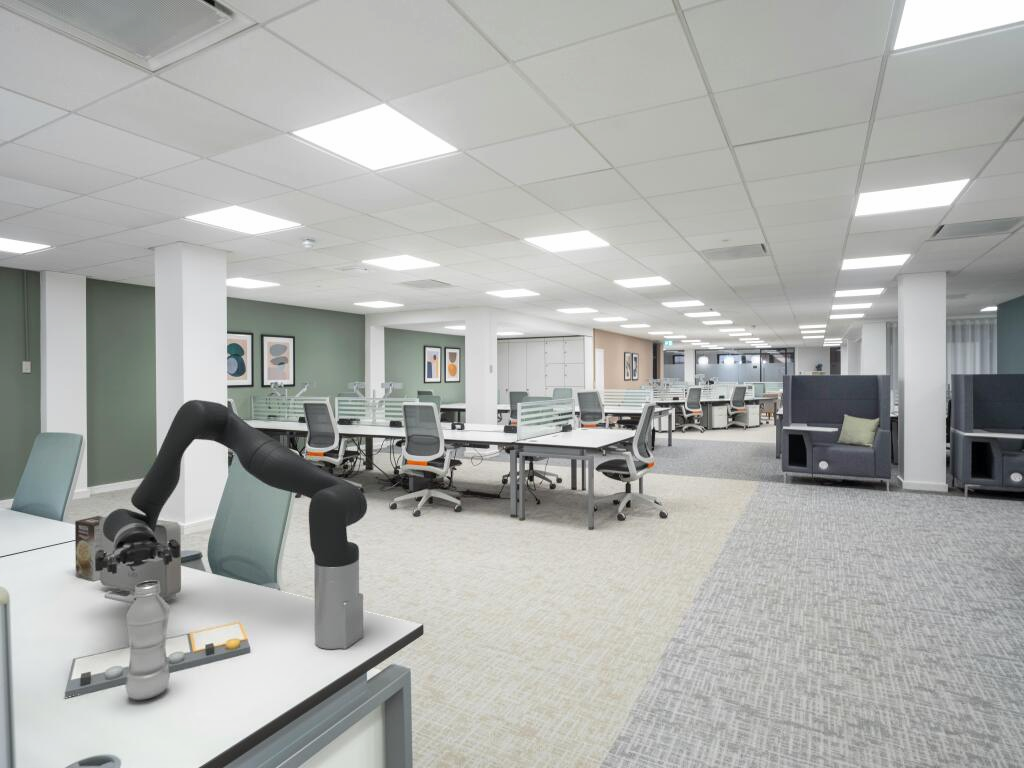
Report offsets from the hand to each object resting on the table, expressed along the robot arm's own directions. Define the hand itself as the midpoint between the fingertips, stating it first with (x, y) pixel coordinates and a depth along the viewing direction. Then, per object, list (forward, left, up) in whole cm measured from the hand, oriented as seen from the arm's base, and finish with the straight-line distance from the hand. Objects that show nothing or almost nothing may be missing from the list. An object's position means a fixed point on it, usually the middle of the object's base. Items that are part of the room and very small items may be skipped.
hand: (141, 564), depth 109 cm
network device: (+37, -24, -21) cm, 49 cm away
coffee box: (+63, -29, -21) cm, 73 cm away
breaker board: (0, -4, -21) cm, 21 cm away
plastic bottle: (-10, +5, -21) cm, 24 cm away
